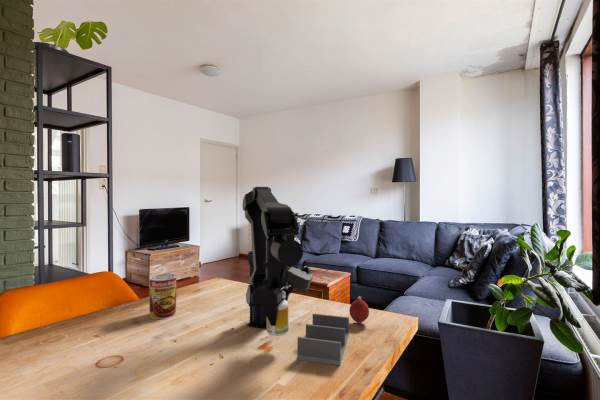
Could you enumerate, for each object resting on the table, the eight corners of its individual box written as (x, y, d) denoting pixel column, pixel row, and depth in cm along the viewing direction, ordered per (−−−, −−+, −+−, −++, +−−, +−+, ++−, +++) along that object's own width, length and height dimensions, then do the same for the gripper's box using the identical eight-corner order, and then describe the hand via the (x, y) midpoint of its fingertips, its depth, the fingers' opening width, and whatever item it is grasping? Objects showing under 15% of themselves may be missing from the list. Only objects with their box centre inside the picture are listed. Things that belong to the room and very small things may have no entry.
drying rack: (297, 359, 73) (297, 337, 73) (313, 331, 88) (313, 313, 88) (340, 365, 70) (340, 343, 70) (348, 335, 85) (348, 317, 85)
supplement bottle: (291, 328, 79) (291, 290, 79) (283, 338, 74) (283, 297, 73) (272, 325, 81) (271, 288, 80) (262, 334, 76) (262, 294, 75)
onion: (369, 328, 90) (369, 300, 90) (348, 326, 91) (349, 299, 91) (368, 320, 96) (369, 294, 96) (349, 319, 97) (349, 293, 97)
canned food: (153, 321, 95) (153, 281, 95) (146, 313, 101) (146, 276, 101) (179, 315, 100) (179, 277, 100) (172, 308, 106) (172, 272, 106)
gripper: (298, 268, 66) (298, 342, 66) (318, 252, 84) (317, 311, 84) (250, 264, 69) (249, 335, 69) (278, 250, 87) (278, 307, 87)
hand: (277, 321), depth 77 cm, fingers closed on supplement bottle, 5 cm apart
